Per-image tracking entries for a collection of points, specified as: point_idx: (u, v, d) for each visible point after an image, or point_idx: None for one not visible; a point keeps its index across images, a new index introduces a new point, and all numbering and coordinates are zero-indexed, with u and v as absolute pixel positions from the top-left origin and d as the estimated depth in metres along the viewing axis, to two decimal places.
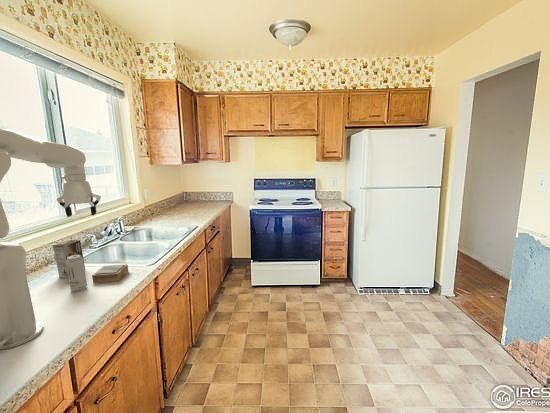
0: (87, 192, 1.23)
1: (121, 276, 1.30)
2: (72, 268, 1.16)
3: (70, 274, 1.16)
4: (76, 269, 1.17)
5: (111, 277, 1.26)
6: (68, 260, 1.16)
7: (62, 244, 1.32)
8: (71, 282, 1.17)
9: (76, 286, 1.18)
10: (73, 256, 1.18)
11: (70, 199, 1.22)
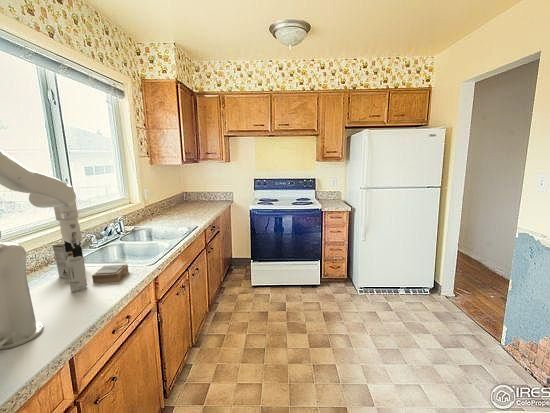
0: None
1: (121, 276, 1.30)
2: (72, 268, 1.16)
3: (70, 274, 1.16)
4: (76, 269, 1.17)
5: (111, 277, 1.26)
6: (68, 260, 1.16)
7: (62, 244, 1.32)
8: (71, 282, 1.17)
9: (76, 286, 1.18)
10: None
11: None
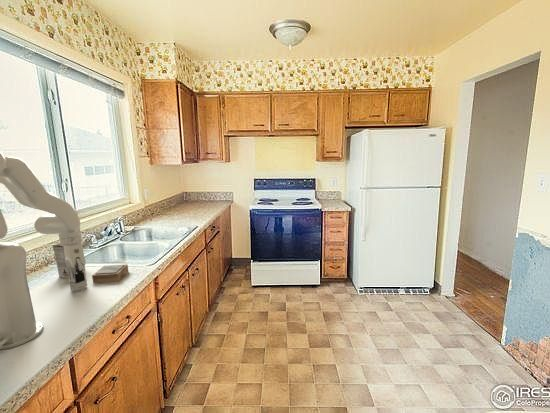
0: None
1: (121, 276, 1.30)
2: (72, 268, 1.16)
3: (70, 274, 1.16)
4: (76, 269, 1.17)
5: (111, 277, 1.26)
6: None
7: None
8: (71, 282, 1.17)
9: (76, 286, 1.18)
10: None
11: None
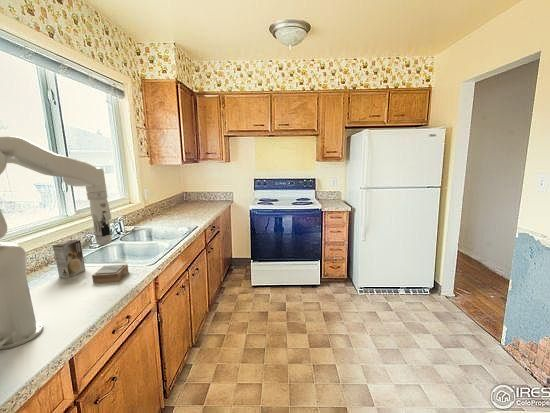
0: None
1: (121, 276, 1.30)
2: (99, 221, 1.23)
3: (96, 228, 1.23)
4: None
5: (111, 277, 1.26)
6: None
7: (62, 244, 1.32)
8: (97, 235, 1.24)
9: (102, 239, 1.24)
10: None
11: None
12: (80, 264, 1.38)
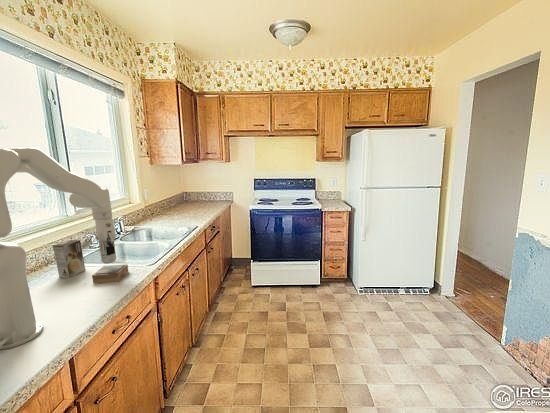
0: None
1: (121, 276, 1.30)
2: (104, 241, 1.25)
3: (101, 247, 1.26)
4: None
5: (111, 277, 1.26)
6: None
7: (62, 244, 1.32)
8: (103, 254, 1.26)
9: (107, 258, 1.27)
10: None
11: None
12: (80, 264, 1.38)
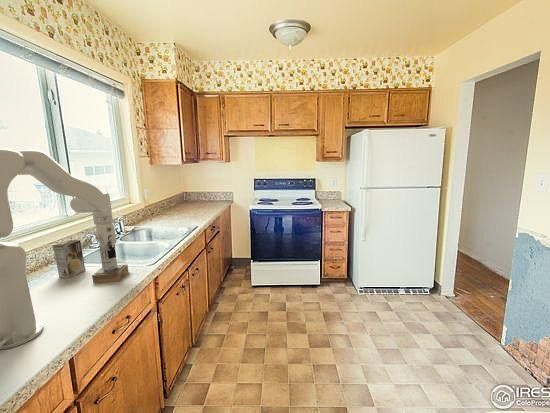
0: None
1: (121, 276, 1.30)
2: (105, 248, 1.25)
3: (102, 255, 1.26)
4: None
5: (111, 277, 1.26)
6: (101, 241, 1.25)
7: (62, 244, 1.32)
8: (104, 262, 1.27)
9: (108, 266, 1.27)
10: None
11: None
12: (80, 264, 1.38)
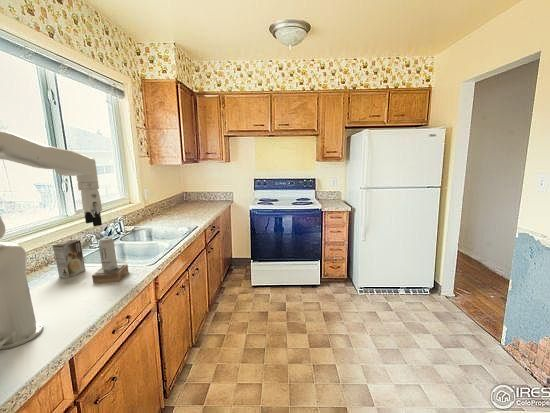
0: None
1: (121, 276, 1.30)
2: (105, 248, 1.26)
3: (102, 255, 1.26)
4: (108, 249, 1.26)
5: (111, 277, 1.26)
6: (101, 241, 1.25)
7: (62, 244, 1.32)
8: (103, 262, 1.27)
9: (108, 266, 1.27)
10: (105, 238, 1.28)
11: None
12: (80, 264, 1.38)
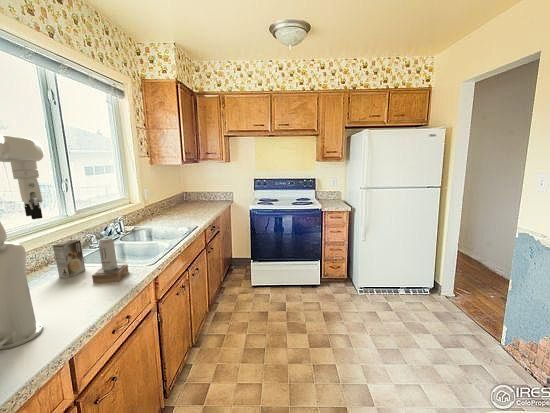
0: None
1: (121, 276, 1.30)
2: (105, 248, 1.26)
3: (102, 255, 1.26)
4: (108, 249, 1.26)
5: (111, 277, 1.26)
6: (101, 241, 1.25)
7: (62, 244, 1.32)
8: (103, 262, 1.27)
9: (108, 266, 1.27)
10: (105, 238, 1.28)
11: None
12: (80, 264, 1.38)
